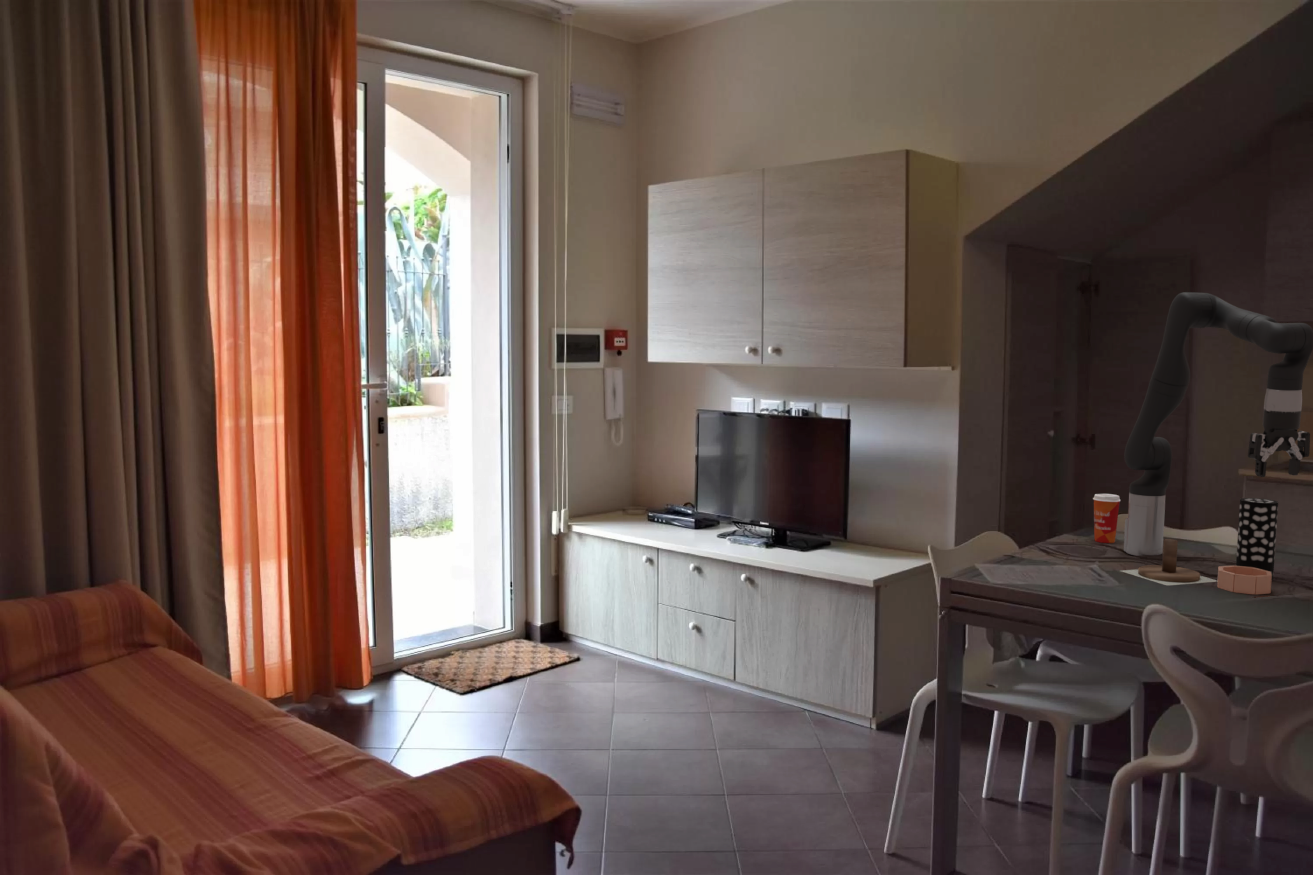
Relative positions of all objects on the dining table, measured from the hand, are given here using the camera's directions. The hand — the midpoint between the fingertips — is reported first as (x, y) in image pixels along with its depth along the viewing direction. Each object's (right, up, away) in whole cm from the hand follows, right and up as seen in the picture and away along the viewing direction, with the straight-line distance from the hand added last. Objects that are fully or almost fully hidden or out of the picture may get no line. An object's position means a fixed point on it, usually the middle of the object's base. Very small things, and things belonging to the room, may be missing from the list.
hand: (1276, 475), depth 238 cm
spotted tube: (+5, -27, +17) cm, 32 cm away
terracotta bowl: (-6, -28, +4) cm, 29 cm away
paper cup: (-13, -22, +63) cm, 68 cm away
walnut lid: (-18, -26, +16) cm, 35 cm away
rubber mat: (-18, -27, +16) cm, 36 cm away
